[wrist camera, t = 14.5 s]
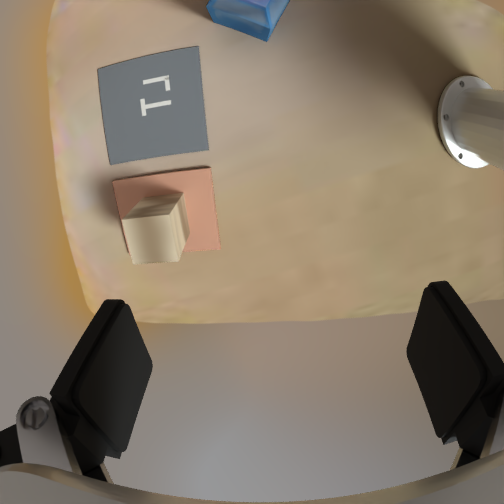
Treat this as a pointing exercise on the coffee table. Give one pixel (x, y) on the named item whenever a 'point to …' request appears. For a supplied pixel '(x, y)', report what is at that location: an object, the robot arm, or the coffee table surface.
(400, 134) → the coffee table surface
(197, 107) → the gray tile
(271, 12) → the perfume bottle
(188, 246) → the pad
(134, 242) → the maple block
